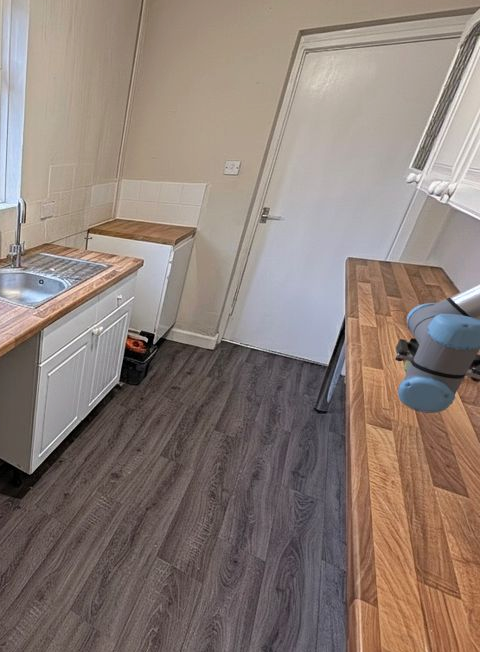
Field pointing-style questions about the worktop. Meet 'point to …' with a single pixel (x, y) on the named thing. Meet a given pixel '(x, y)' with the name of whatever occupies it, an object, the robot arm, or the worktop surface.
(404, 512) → the worktop surface
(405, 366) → the near post
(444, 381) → the robot arm
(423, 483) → the worktop surface
